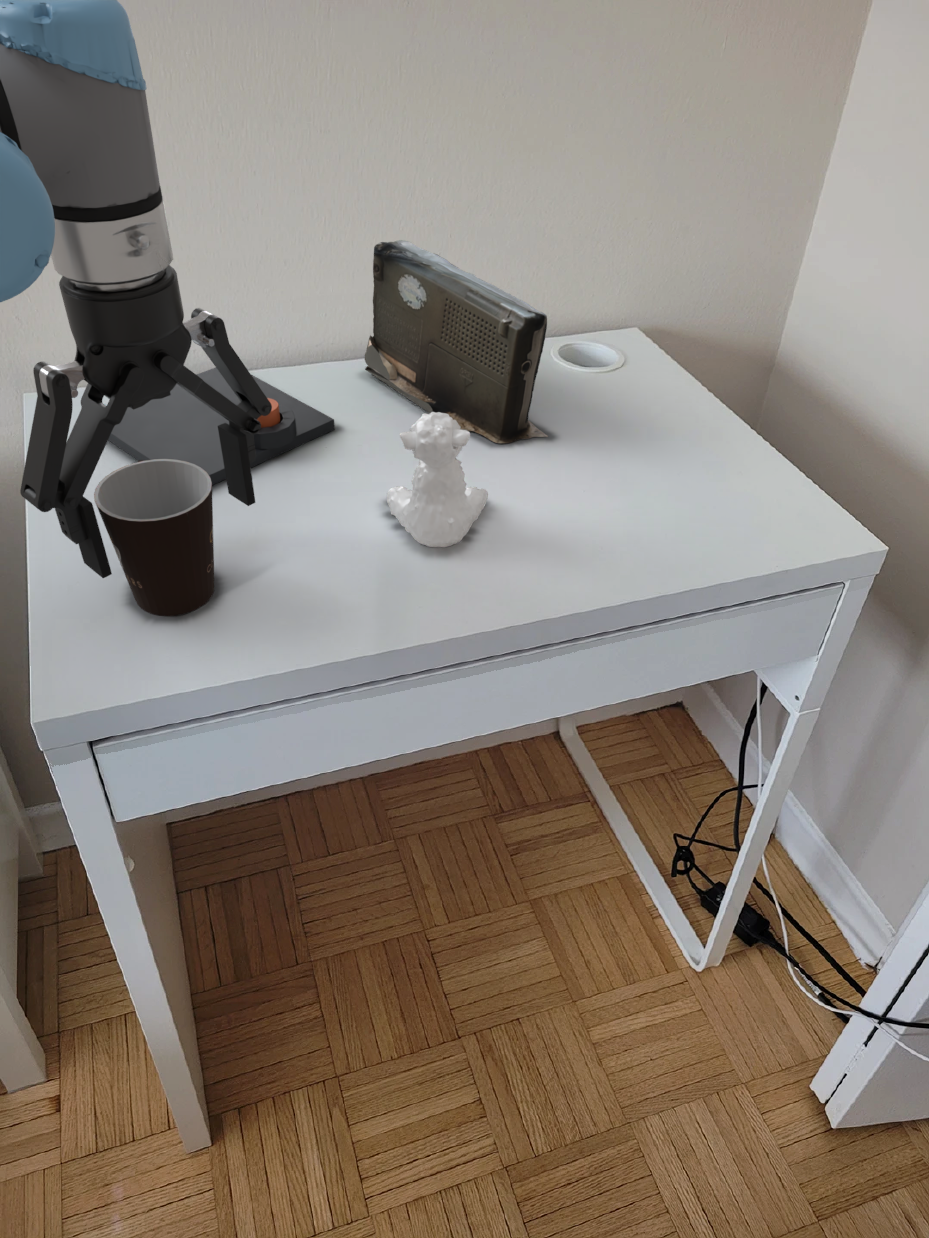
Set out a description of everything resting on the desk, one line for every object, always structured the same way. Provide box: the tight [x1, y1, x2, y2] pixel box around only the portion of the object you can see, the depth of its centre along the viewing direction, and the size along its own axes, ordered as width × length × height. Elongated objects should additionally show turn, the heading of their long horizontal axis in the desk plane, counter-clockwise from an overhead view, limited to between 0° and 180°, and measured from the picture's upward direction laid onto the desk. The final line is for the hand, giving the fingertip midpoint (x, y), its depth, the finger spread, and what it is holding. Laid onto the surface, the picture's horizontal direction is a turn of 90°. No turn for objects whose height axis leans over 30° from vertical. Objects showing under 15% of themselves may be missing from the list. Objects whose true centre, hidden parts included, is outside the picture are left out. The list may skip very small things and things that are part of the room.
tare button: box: [257, 398, 280, 428], centre depth 94 cm, size 3×3×2 cm
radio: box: [364, 239, 549, 444], centre depth 100 cm, size 23×9×15 cm, turn 37°
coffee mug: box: [93, 459, 215, 617], centre depth 76 cm, size 12×9×10 cm
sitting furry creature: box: [386, 412, 489, 548], centre depth 83 cm, size 10×9×12 cm
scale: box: [108, 367, 336, 486], centre depth 98 cm, size 18×19×3 cm
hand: (173, 532), depth 77 cm, fingers open, 13 cm apart
